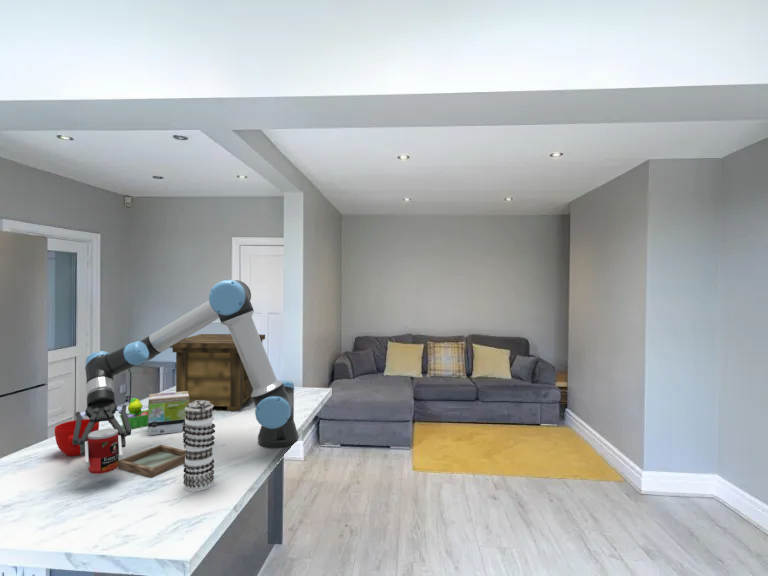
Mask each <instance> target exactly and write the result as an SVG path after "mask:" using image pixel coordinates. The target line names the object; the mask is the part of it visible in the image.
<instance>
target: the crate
mask: <svg viewBox="0 0 768 576" xmlns="http://www.w3.org/2000/svg"><path fill="white" fill-rule="evenodd" d="M259 337H260V339H261V342H262V343H263V341H264V340H265V339H266V334H259ZM169 348H170V349H172V353H175V354H176V355H175V358H176V359H175V370H176V371H175V379H176V380H175V392H182V391H188V394H189V403H191V402H193V401H197V400H207V401H209V402H210V403H211V404H212V405H214V407H226V411H233V410H234V411H235V410H236V412H237V411H238V410H239V409H241V407H242V406H244V403H245V402H246V401H247V400H252V398H251V394H252V392H253V388H252V386H251V383H250V381H249V378H248V376H247V373H246V371H245V368H244V366H243V363H242V361H241V358H240V356H239V353H238V351H237V348H236V346H235V343H234V341H233V338H232V336H231V333H229V334H228V333H227V334H226V333H200V334H196V335H193V336H188V337H186V338H184V339H183V340H181V341H179V342H178V343H176V344H174V345H173V346H171V347H169ZM169 348H168V349H169Z"/></svg>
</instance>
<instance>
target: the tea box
mask: <svg viewBox="0 0 768 576" xmlns="http://www.w3.org/2000/svg"><path fill="white" fill-rule="evenodd" d="M188 404H189V394H188V391H182V392H176V391H172V392H170V391H169V392H160V393H159V392H158V393H149V394H148V404H147V405H148V407H147V410H148V426H147V436H148V437H149V436H154V435H155V436H157V435H163V434H173V433H181V432H183V430H182V429H183V425H182V424H183V423H182V422H184V421H185V418H186V410H185V408H186V407H187V406H188ZM185 430H186V428H185ZM183 433H184V432H183Z"/></svg>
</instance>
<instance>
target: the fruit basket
mask: <svg viewBox="0 0 768 576" xmlns="http://www.w3.org/2000/svg"><path fill="white" fill-rule="evenodd" d="M143 406H144V405H143V404H142V403H141V401H140V399H138V398H136V397H133V398H131V399H130V402H129V404H128V406H127V410H128V412H126V414H127V417H128V420H129V423H130V427H131V428H132V429H136V428H135V427H138V428H142V427H141V426H143V427H147V426H146V425H148V409H145V410H142V408H143ZM119 418H120V419H121V422H122V426H123V427H124V424H123V421H122V418H121V414H119Z"/></svg>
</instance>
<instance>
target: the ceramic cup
mask: <svg viewBox="0 0 768 576" xmlns="http://www.w3.org/2000/svg"><path fill="white" fill-rule="evenodd" d="M89 421H90V418H85V419H83V420H81V428H80V433H79V439H81V437H82V435H83V433H84V431H85V429H86V427H87V425H88V423H89ZM75 425H76V419H75V420H69V421H66V422H63V423H60V424H57V425H56V426H55V427H54V438H55V442H56V444H57V445H56V446H57V447H58V449H59V451H61V452H62V453H63V454H65V456H67V457H76V456H77V457H78V456H82V455H81V454H80V445H73V435H74V430H75ZM97 430H100V422H97V423H95V425H94V426H93V428H92V430H91V432H93V431H97ZM87 441H88V439H87Z"/></svg>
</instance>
